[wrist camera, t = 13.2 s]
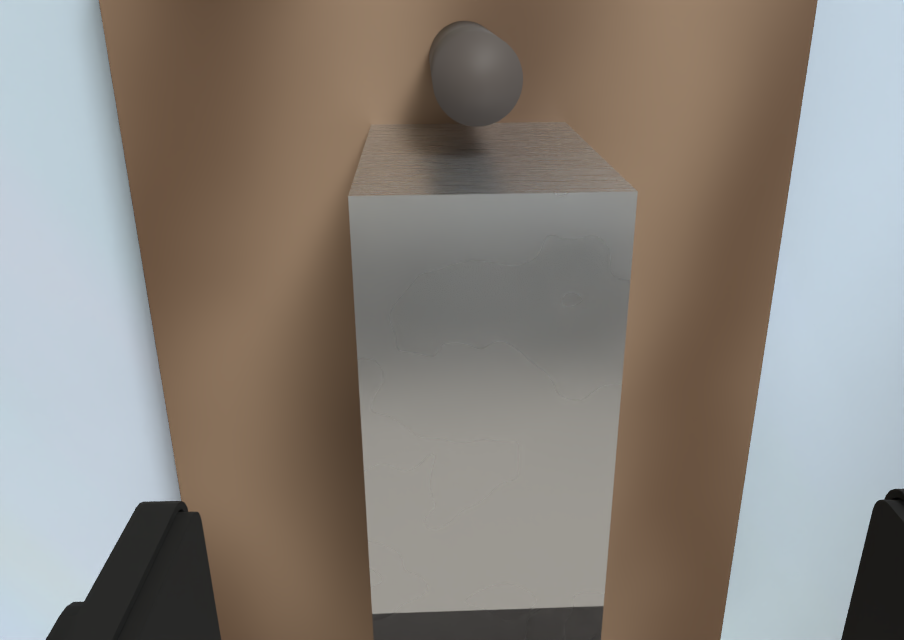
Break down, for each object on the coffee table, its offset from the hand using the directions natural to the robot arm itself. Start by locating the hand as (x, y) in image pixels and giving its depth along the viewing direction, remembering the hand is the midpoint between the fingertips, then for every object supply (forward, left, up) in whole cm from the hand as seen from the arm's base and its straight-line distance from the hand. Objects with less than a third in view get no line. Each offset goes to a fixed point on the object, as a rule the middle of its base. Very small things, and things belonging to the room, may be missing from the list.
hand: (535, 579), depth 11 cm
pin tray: (+1, 0, -9) cm, 9 cm away
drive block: (0, 0, -8) cm, 8 cm away
